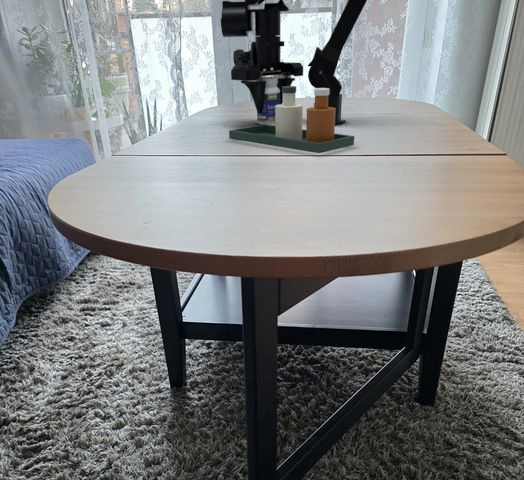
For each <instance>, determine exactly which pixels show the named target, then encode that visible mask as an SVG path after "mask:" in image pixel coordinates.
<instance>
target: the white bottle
mask: <svg viewBox="0 0 524 480" xmlns="http://www.w3.org/2000/svg"><path fill="white" fill-rule="evenodd" d="M282 93H283V103H282V104H280V105H276V106H275V116H276V123H275V126H276V137H281V138H288V139H295V140H302V129H303V108H304V107H303V104H300V103H296V93H297V86H295V85H291V86H284V87H282Z"/></svg>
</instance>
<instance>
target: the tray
mask: <svg viewBox="0 0 524 480" xmlns="http://www.w3.org/2000/svg"><path fill="white" fill-rule="evenodd" d="M228 138H229V139H230V140H231V139H232V140H237V141H243V142H247V143H248V142H249V143H256V144H262V145H267V146H273V147H280V148H285V149H292V150H298V151H303V152H309V153H316V154H321V153H325V152H330V151H334V150H339V149H342V148H346V147H350V146H354V145H355V135H350V134H344V133H343V134H342V133H336V132H334V140H331V141H326V142H322V143H315V142H308V141H306V129H303V128H302V140H295V139H288V138H281V137H276V125H272V124H263V125H261V124H258V125H252V126H247V127H240V128H235V129H229V130H228Z"/></svg>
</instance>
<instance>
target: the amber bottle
mask: <svg viewBox="0 0 524 480" xmlns="http://www.w3.org/2000/svg"><path fill="white" fill-rule="evenodd" d="M313 95H314V103H315V107H314V106H311V107H308V108H306V125H305V126H306V129H305V130H306V141H308V142H315V143H322V142H326V141H331V140H334V133H335V130H336V129H335V127H336V124H335V111H336V109H335V108H333V107H328V95H329V88H314V89H313Z"/></svg>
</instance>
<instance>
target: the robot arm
mask: <svg viewBox="0 0 524 480" xmlns="http://www.w3.org/2000/svg"><path fill="white" fill-rule="evenodd" d="M265 1H266V0H244V1H230V0H222V3H221V5H222V8H221V17H220V30H221V35H222V37H223V38H243V37H244V38H245V37H246V38H247V37H249V33H250V32H253V31H254V34H255V35H254V36H255V37H254V38H255V39H254V40H255V41H251V44H250V50H248V51H244V49H236V50H234V51H233V57H232V59H233V64H234V65H233V67H232V69H231V70H230V73H231V74H230V80H231V81H240V83H241V84H243V85H245V87H247V88H248V90H249V93H250V95H251V98H252V100H253V104H254V106H255V109H256V113H257V112H258V113H262V109H263V103H264V96H265V88H266V81H262V77H270V76H273V77H277V78H278V83H277V87H278V88H279V90H280V104H283V93H282V87H284V86H292V84H293V82H294V81H296V77H303V76H304V66H303V64H302V62H292V61H291V62H287V61H286V62H285V61H281V47H285V41H284V40H281V13H287V12H290V8H289V7H288V6H287V4H285V2H284V0H279V1H278V2H265ZM264 2H265V3H264ZM367 2H368V0H347V3H346V5H345V6H344V9H343V11H342V12H341V15H340V17H339V18H338V21H337V22H336V25H335V27H334V28H333V31H332V33H331V35H330V36H329V39H328V41H327V42H326V44H325V45H324V47H323V48H322V49H321V48H320V47H319V46H317V47H315V51H314V54H313V58H312V59H311V61H310V62H309V63H308V64H307V67H309V69H308V72H307V78H308V82H309V83H310V85H311V86H312V87H313V88H314V89H316V88H329V95H328V107H333V108H335V109H336V111H335V125H338V124H343V123H347V122H346V121H347V120H346V119H342V102H343V93H341V92H342V89H343V86H342V83H341V82H340V81H339V79H338V78H337V77H336V76H335V73H336V69H337V67H338V64H339V61H340V58H341V55H342V51H343V49H344V47H345V45H346V43H347V40H348V39H349V37H350V36H351V35H350V34H351V33H352V31H353V29H354V27H355V25H356V24H357V20H358V19H359V17H360V15H361V13H362V11H363V9H364V7H365V6H366V3H367ZM262 3H264V5H263V8H251V7H259V6H260V5H261V4H262ZM253 14H254V15H253ZM292 76H293V77H292ZM313 107H315V102H313Z"/></svg>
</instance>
